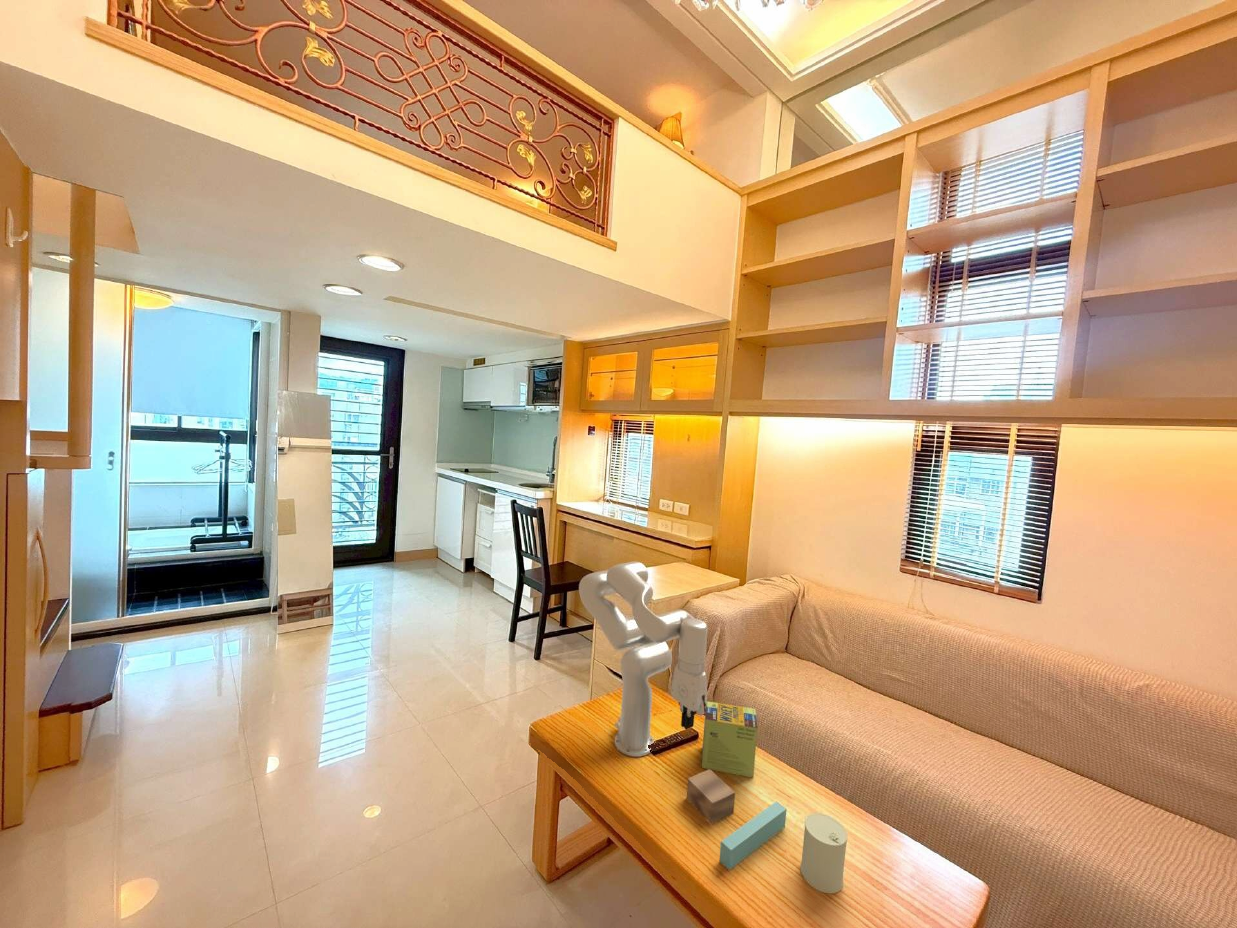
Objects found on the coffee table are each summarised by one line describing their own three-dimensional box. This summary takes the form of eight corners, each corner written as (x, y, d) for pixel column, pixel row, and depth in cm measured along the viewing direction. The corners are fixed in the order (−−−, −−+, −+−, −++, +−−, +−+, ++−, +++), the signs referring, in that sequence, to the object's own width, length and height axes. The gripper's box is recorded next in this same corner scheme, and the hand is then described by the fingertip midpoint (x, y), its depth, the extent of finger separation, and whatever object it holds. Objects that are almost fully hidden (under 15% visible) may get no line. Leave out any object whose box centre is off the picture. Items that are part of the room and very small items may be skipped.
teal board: (719, 860, 116) (720, 840, 116) (775, 819, 130) (776, 801, 129) (729, 870, 114) (731, 850, 114) (784, 826, 127) (786, 808, 127)
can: (821, 899, 108) (826, 848, 107) (791, 864, 117) (796, 816, 116) (852, 885, 112) (857, 836, 111) (820, 852, 120) (825, 806, 119)
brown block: (686, 798, 136) (687, 778, 135) (708, 788, 140) (709, 768, 139) (710, 824, 127) (712, 803, 127) (733, 813, 131) (735, 792, 131)
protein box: (754, 778, 145) (758, 728, 144) (701, 768, 148) (704, 718, 147) (751, 755, 155) (755, 708, 154) (702, 746, 158) (705, 700, 157)
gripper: (663, 656, 142) (659, 717, 143) (702, 679, 130) (697, 745, 132) (682, 650, 147) (678, 709, 148) (721, 672, 135) (716, 736, 136)
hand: (687, 726), depth 140 cm, fingers closed
